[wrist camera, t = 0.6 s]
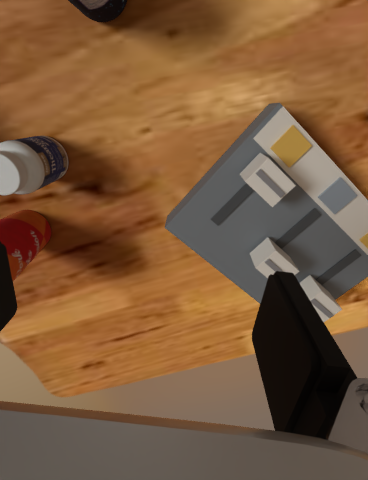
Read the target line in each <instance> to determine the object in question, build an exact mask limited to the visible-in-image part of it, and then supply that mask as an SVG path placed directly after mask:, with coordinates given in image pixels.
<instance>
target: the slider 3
mask: <svg viewBox="0 0 368 480" xmlns="http://www.w3.org/2000/svg"><path fill="white" fill-rule="evenodd" d="M300 285H301V286H302V288H303V290H304V291H305V293H306V295H307V296H308V298H309V300H310V301H311V303H312V305H313V306H314V308H315V310H316V311H317V313H318V314H319V316H320V317H321V319H322V321H323V322H325V321H326V320H328V319H329V318H331V317H332V316H334V315H335V314H336V313H338V312H339V311H341V310H342V309H341V307H340V306H339V305H338V303H337V302H336V301H335V299H334V298H333V297H332V295H331V294H330V293H329V292H328V291H327V290H326V289H325V288H324V287H323V286H322V285H321V284H320V283H318V282H317V281H316V280H315V279H314V278H313V277H312V276H311V275H309V276H308V277H306V278H305V279H304V280H303V281H301V282H300Z"/></svg>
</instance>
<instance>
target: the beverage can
mask: <svg viewBox="0 0 368 480" xmlns="http://www.w3.org/2000/svg"><path fill="white" fill-rule="evenodd" d="M68 1H70V2H71V3H72V4H73V5H74V6H75V7H76V8H78V9H79V10H80V11H81V12H82V13H83V14H84V15H85V16H87V17H88V18H90V19H92V20H94V21H97V22H108V21H111V20H113V19H115V18H116V17H117V16H119V15H120V13H121V12H122V11H123V9H124V7H125V5H126V2H127V0H68Z"/></svg>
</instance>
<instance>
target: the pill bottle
mask: <svg viewBox="0 0 368 480" xmlns="http://www.w3.org/2000/svg"><path fill="white" fill-rule="evenodd" d="M67 169H68V156H67V153H66V151H65V149H64V148H63V146H62V145H61V144H60V143H59V142H57V141H56V140H54V139H53V138H50V137H47V136H35V137H29V138H22V139H16V140H9V141H5V142H1V143H0V195H10V194H13V193H15V194H28V193H31V192H34V191H36V190H38V189H40V188H42V187H44V186H46V185H48V184H50V183H52V182H54V181H56V180H58V179H59V178H61V177H62V176H63V175H64V174H65V173H66V171H67Z"/></svg>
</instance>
